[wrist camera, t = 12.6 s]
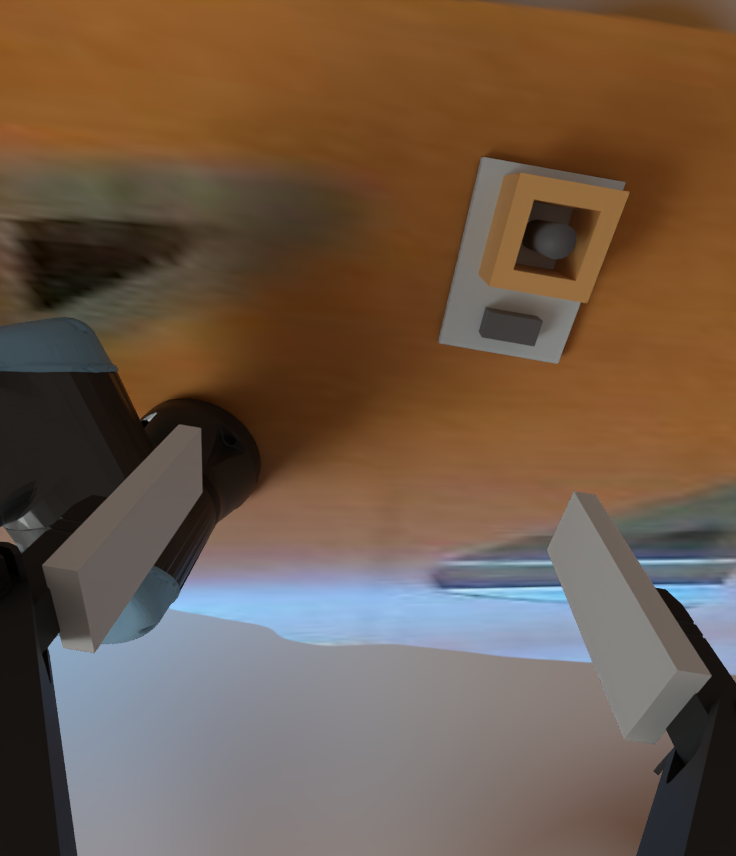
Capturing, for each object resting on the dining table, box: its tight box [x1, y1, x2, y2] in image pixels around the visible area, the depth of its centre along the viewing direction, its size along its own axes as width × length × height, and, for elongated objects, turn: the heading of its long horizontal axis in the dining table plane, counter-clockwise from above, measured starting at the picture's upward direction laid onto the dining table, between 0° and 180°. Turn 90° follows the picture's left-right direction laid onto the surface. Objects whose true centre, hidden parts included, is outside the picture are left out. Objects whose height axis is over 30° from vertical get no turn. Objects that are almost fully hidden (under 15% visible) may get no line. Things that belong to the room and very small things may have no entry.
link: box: [478, 173, 630, 303], centre depth 37 cm, size 8×8×6 cm
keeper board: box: [438, 157, 626, 364], centre depth 38 cm, size 12×16×8 cm
